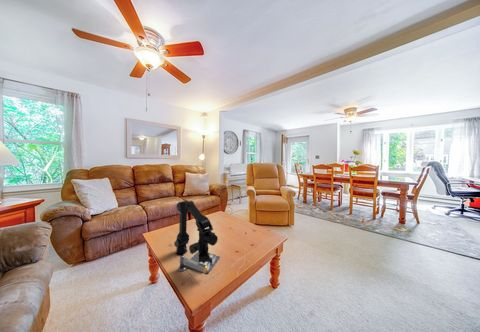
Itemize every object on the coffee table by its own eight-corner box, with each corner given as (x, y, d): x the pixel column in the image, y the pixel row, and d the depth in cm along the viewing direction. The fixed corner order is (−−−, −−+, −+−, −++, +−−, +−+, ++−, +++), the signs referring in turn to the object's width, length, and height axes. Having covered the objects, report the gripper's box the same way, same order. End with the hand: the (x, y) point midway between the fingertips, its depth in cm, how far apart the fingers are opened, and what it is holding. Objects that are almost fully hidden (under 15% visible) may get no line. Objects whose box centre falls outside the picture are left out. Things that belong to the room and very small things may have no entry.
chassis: (184, 266, 101) (184, 262, 101) (198, 252, 116) (198, 248, 116) (208, 273, 95) (208, 268, 95) (220, 257, 110) (220, 253, 110)
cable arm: (182, 264, 97) (182, 259, 97) (185, 262, 99) (185, 257, 99) (205, 273, 89) (205, 268, 89) (208, 271, 92) (208, 265, 91)
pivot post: (176, 270, 98) (176, 257, 97) (181, 265, 102) (181, 253, 102) (182, 272, 96) (182, 259, 95) (187, 267, 101) (187, 254, 100)
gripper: (190, 233, 103) (190, 255, 104) (189, 249, 86) (189, 276, 86) (207, 231, 107) (207, 253, 107) (209, 246, 89) (209, 272, 90)
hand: (203, 262), depth 98 cm, fingers closed
